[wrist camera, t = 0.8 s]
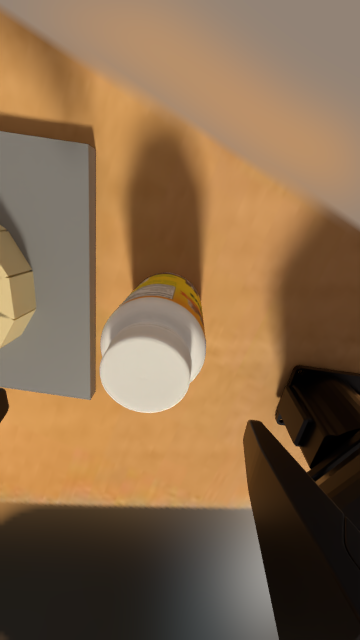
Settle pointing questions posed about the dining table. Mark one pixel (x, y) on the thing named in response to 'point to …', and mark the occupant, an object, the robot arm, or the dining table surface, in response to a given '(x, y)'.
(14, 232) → the grey board with ring
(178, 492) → the dining table surface
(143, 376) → the supplement bottle
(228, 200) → the dining table surface
